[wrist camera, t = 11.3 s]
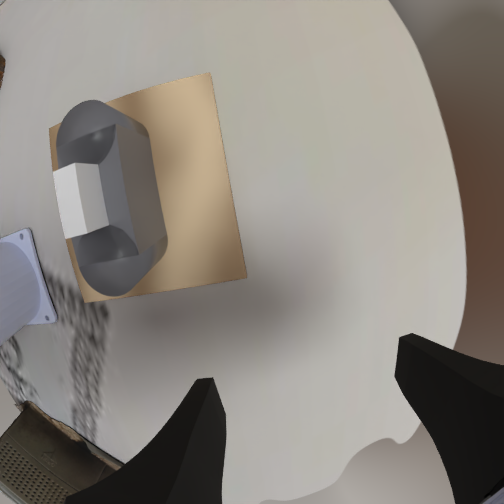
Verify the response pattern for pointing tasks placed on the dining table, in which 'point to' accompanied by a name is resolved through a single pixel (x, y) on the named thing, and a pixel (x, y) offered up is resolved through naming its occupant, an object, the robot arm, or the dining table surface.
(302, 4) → the dining table surface
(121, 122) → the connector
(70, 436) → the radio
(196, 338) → the dining table surface
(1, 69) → the burger
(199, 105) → the oak board
